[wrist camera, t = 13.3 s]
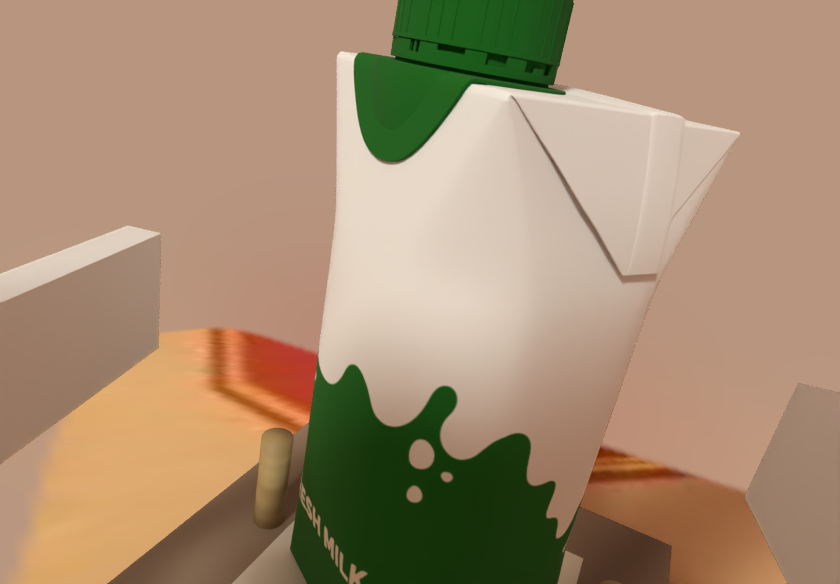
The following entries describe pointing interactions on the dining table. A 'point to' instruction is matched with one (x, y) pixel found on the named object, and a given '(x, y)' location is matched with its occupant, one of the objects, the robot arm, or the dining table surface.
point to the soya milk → (480, 295)
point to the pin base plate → (274, 520)
